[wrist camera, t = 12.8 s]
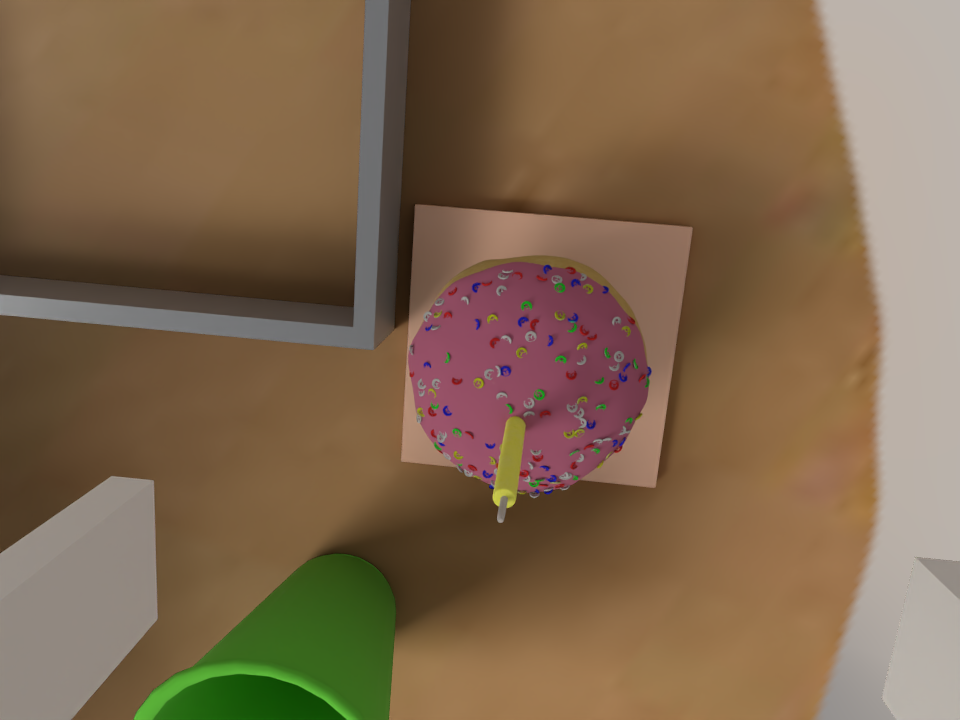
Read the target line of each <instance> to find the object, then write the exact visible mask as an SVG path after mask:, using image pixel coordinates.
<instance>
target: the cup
mask: <svg viewBox="0 0 960 720" xmlns="http://www.w3.org/2000/svg"><path fill="white" fill-rule="evenodd" d="M395 622H396V605H395V598H394V595H393V593H392V590H391V587H390V586H389V584H388V582H387V580H386V579H385V578H384V576H383V575H382V573H381V572H380V571H379V570H378V569H376V568H375V567H374V566H373V565H372V564H370V563H369V562H367V561H365V560H363V559H361V558H359V557H355V556H352V555H349V554H330V555H324V556H319V557H317V558H314V559H312V560H309V561H307V562H306V563H305V564H303V565H302V566H301V567H299V568H298V569H297V570H296V571H295V572H294V573H293V574H291V575H290V576H289V577H288V578H287V579H286V580H285V581H284V582H283V583H282V584H281V585H280V586H279V587H278V588H276V589H275V590H274V591H273V592H272V593H271V594H270V595H269V596H268V597H267V598H266V599H265V600H264V601H263V602H262V603H260V604H259V605H258V606H257V607H256V608H255V609H254V610H253V611H252V612H251V613H250V614H249V615H248V616H247V617H245V618H244V619H243V620H242V621H241V622H240V623H239V624H238V625H237V626H236V627H235V628H234V629H233V630H232V631H230V632H229V633H228V634H227V635H226V636H225V637H224V638H223V639H222V640H221V641H220V642H219V643H218V644H217V645H215V646H214V647H213V648H212V649H211V650H210V651H209V652H208V653H207V654H206V655H205V656H204V657H203V658H202V659H200V660H199V661H198V662H197V663H196V664H195V665H194V666H193V667H191V668H188V669H186V670H183V671H180V672H178V673H176V674H174V675H173V676H172V677H170V678H169V679H168V680H166V681H165V682H164V683H162V684H161V685H159V686H158V687H157V688H155V689H154V690H153V691H152V692H151V693H150V695H149V696H148V697H147V699H146V700H145V701H144V703H143V704H142V705H141V707H140V708H139V709H138V711H137V712H136V714H135V717H134V720H389V710H390V695H391V680H392V666H393V651H394V636H395Z"/></svg>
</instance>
